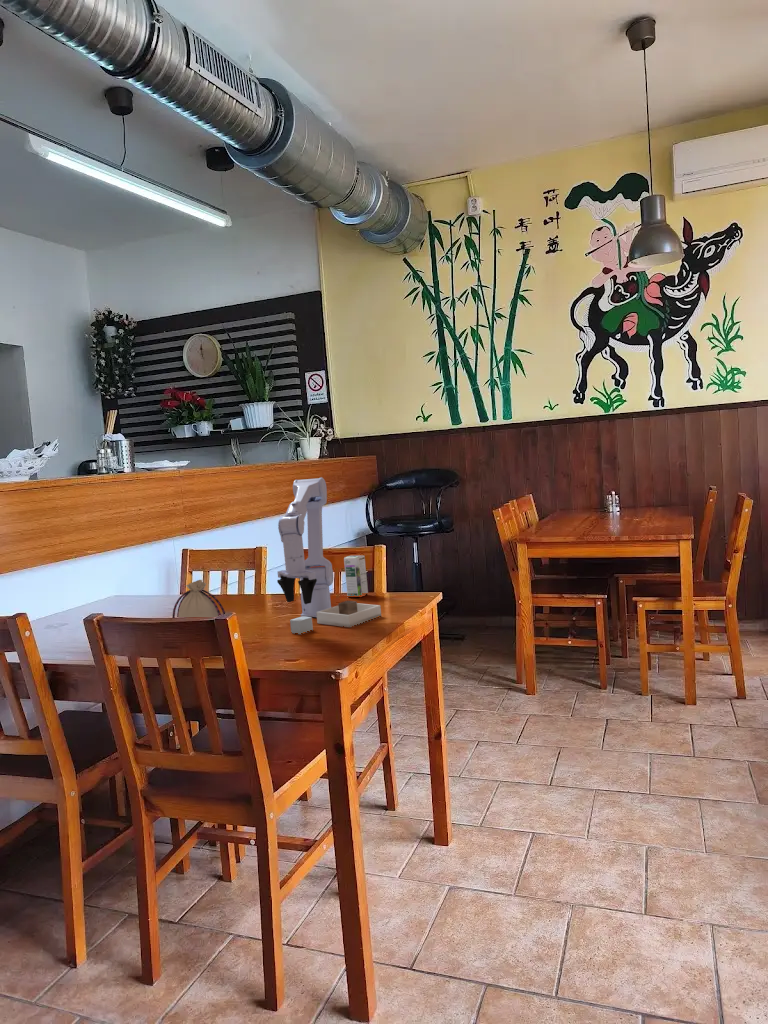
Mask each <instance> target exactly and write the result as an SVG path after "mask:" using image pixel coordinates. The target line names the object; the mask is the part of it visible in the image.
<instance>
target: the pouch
mask: <svg viewBox="0 0 768 1024" xmlns="http://www.w3.org/2000/svg"><path fill="white" fill-rule="evenodd" d="M206 586H207V583H206V582H204V581H203V579H197V580H196V581H193V582H190V583H188V584H186V585H185V587H186V588H188V590H187V591H185V592H183V593H182V594H181V595H180V596H179V597H178V599H177V600H176V602H175V603H174V605H173V609H172V618H177V617H216V616H219V615H221V616H222V615H224V614H225V613H226V611H225V608H224V606H223V604H222V603H221V602H220V601H219V600H218V598H217V597H215V596H214V595H213V594H212V593H210V592H209V591H207V590H205V588H206ZM217 604H218V605H217ZM177 607H178V608H177ZM219 608H220V609H221V611H222V614H221V611H220V609H219ZM176 609H177V613H176ZM176 614H177V615H176ZM175 615H176V616H175Z"/></svg>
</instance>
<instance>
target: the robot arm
mask: <svg viewBox="0 0 768 1024" xmlns="http://www.w3.org/2000/svg"><path fill="white" fill-rule="evenodd" d="M327 491H328V490H327V483H326V480H325V479H324V477H322V476H321V477H319V478H318V477H317V478H308V479H307V478H306V479H295V480H294V481H293V484H292V492H293V496H294V499H293V500H294V501H291V503H289V505H288V507H287V509H286V512H285V514H284V516H282V517H281V518H280V519H278V524H277V526H278V528H277V529H278V532H279V536H280V540H281V543H282V545H283V554H284V566H285V569H282V570H278V571H277V578H278V579H277V584H278V585H279V586H280V588H281V589H282V592H283V594H284V597H285V600H286V602H287V603H291V602H292V603H293V602H295V589H294V588H295V581H296V579H299V580H298V581H297V583H298V585H299V587H300V590H301V593H300V602H301V603H300V604H301V610H302V612H301V613H300V617H302V616H306V617H312V618H317V615H316V612H318V611H321V610H325V609H328V608H331V607H332V604H331V592H330V587H331V586H332V584H333V582H334V570H333V563H332V562H331V561H330V560H329V559H327V558H326V557H324V548H323V547H324V543H323V506H325V505H326V504H327V502H328V501H327V499H328V492H327ZM306 517H307V518H306ZM305 518H306V519H307V521H306V522H307V552H308V553H307V554H308V555H307V558H306V559H305V553H304V552H305V551H304V542H303V535H304V532H305Z"/></svg>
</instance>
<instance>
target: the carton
mask: <svg viewBox="0 0 768 1024" xmlns="http://www.w3.org/2000/svg"><path fill="white" fill-rule="evenodd" d="M289 622H290V633H291V632H292V633H291V634H295V633H298V634H297V635H302V634H301V633H303V632H306V633H308V632H307V631H309V632H311V631H310V630H312V631H313V630H314V628H313V626H314V625H313V617H309V616H299V617H296V618H292V619H290V620H289ZM303 634H304V633H303Z"/></svg>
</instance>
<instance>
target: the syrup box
mask: <svg viewBox="0 0 768 1024" xmlns="http://www.w3.org/2000/svg"><path fill="white" fill-rule="evenodd" d="M343 564H344V573H345V575H344V576H345V582H346V585H345V586H346V595H347V596H354V595H355V596H359V595H362V593H368V594H369V589H368V580H367V579H368V577H367V569H366V558H365V555H348V556H344V558H343ZM351 594H352V595H351Z"/></svg>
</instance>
